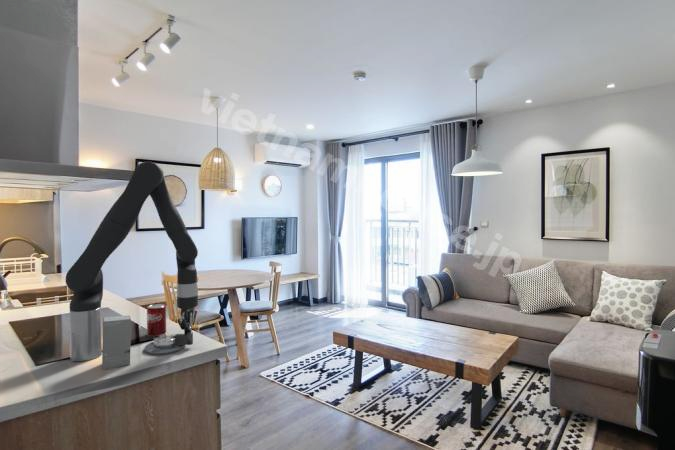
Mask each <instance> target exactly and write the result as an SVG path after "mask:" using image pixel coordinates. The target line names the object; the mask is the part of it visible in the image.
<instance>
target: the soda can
mask: <svg viewBox="0 0 675 450" xmlns="http://www.w3.org/2000/svg"><path fill="white" fill-rule="evenodd" d="M166 333H167V306H166V304H163V303H157V304H150V305H148V306H147V307H146V334H147V336H148V337H150V336H151V338H152V337H153V338H156V337H155V336H157V337H159V335H162V334H166Z"/></svg>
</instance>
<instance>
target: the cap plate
mask: <svg viewBox="0 0 675 450" xmlns="http://www.w3.org/2000/svg"><path fill="white" fill-rule="evenodd" d="M185 348H186V345H175V346H173V347H169V348H163V349H159V348H155V347H154V341H152V342H149V343H147V344H146V345H145V346H144V353H145V354H147V355H149V356H163V355H170V354H174V353H178V352H180V351H182V350H183V349H185Z"/></svg>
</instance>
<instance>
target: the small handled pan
mask: <svg viewBox="0 0 675 450" xmlns="http://www.w3.org/2000/svg"><path fill="white" fill-rule="evenodd" d="M193 338H194V332H193V331H192V332H187V334H184V333H174V334H173V333H172V334H170V335H167V334H166V333H165V334H162V335H159V336H157V337H153V342H154V347H155V348H159V349H163V348H169V347H173V346H175V345H185V346H191V345H193V344H194V339H193Z"/></svg>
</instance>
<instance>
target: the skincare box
mask: <svg viewBox="0 0 675 450" xmlns="http://www.w3.org/2000/svg"><path fill="white" fill-rule="evenodd" d="M131 324H132V318H131V315H120V316H119V315H118V316H117V315H116V316H109V317H108V316H107V317H103V318H102V354H101V361H102V363H101V364H102V365H101V366H102V370H108V369H114V368H119V367H123V366H124V367H125V366H130V365H131V344H132V343H131V341H132V340H131V337H132V336H131V333H132V332H131V331H132V330H131V329H132V325H131Z"/></svg>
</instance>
